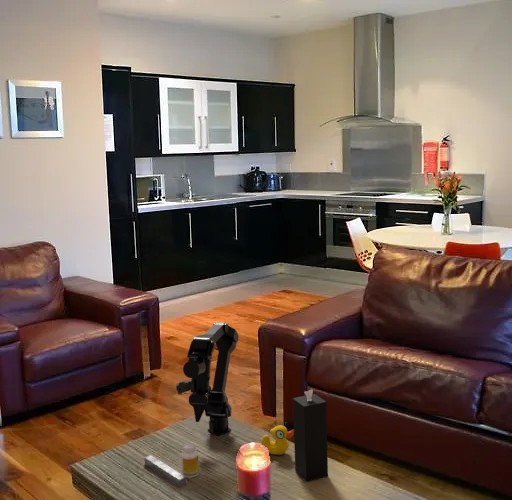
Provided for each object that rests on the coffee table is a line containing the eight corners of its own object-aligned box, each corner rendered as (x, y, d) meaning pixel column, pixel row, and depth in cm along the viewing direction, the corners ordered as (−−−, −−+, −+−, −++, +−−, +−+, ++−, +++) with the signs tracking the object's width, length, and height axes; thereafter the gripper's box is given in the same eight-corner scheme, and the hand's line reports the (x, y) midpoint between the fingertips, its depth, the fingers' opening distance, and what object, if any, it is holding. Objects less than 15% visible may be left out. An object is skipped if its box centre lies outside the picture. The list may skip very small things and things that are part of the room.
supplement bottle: (201, 475, 203) (200, 446, 201) (186, 479, 200) (184, 450, 199) (195, 468, 208) (194, 440, 206) (180, 472, 205) (178, 444, 204)
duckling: (295, 450, 217) (295, 423, 216) (294, 457, 212) (293, 429, 210) (263, 449, 219) (262, 422, 218) (260, 456, 214) (259, 428, 212)
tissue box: (294, 471, 203) (292, 388, 199) (316, 466, 206) (314, 383, 202) (306, 482, 195) (303, 396, 191) (328, 476, 198) (326, 391, 194)
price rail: (152, 461, 213) (151, 454, 213) (187, 484, 197) (186, 476, 197) (144, 464, 212) (144, 457, 211) (179, 487, 196) (179, 479, 195)
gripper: (181, 367, 228) (178, 410, 228) (175, 376, 209) (171, 424, 209) (212, 369, 228) (209, 412, 228) (208, 379, 209) (205, 426, 209)
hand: (198, 418), depth 219 cm, fingers open, 9 cm apart
